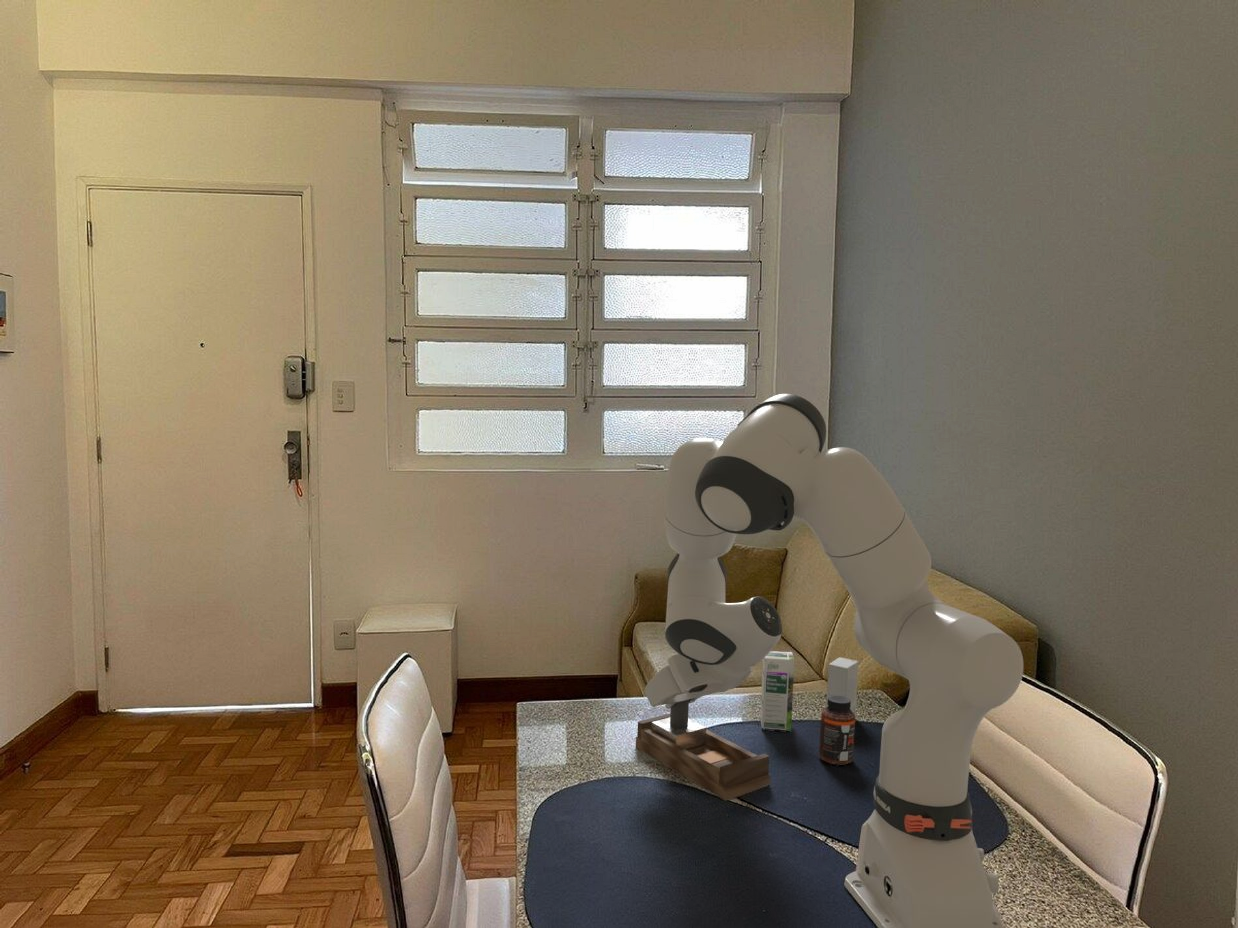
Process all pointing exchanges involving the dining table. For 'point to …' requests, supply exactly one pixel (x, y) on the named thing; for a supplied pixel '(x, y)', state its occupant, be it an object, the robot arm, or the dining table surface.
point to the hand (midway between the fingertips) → (677, 701)
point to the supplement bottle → (837, 731)
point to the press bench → (708, 761)
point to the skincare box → (843, 680)
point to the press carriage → (680, 727)
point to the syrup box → (777, 690)
